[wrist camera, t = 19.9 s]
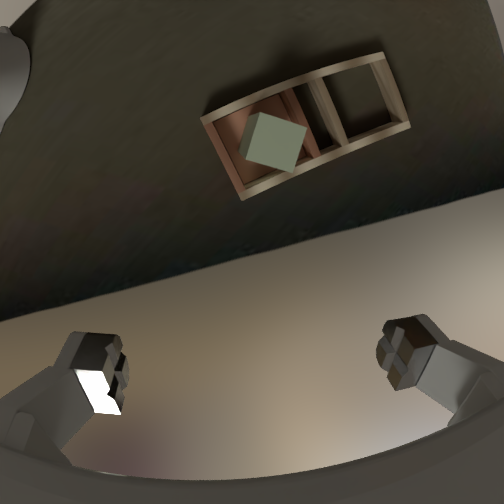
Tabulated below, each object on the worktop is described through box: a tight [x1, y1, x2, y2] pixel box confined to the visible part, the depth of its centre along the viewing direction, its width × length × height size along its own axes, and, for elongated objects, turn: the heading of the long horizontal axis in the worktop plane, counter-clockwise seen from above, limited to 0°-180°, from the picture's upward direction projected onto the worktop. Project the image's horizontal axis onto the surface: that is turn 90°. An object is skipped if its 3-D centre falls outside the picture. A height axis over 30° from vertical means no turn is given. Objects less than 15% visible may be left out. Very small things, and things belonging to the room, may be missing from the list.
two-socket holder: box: [200, 52, 411, 201], centre depth 34 cm, size 25×11×3 cm, turn 115°
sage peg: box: [238, 112, 307, 173], centre depth 31 cm, size 5×5×10 cm
